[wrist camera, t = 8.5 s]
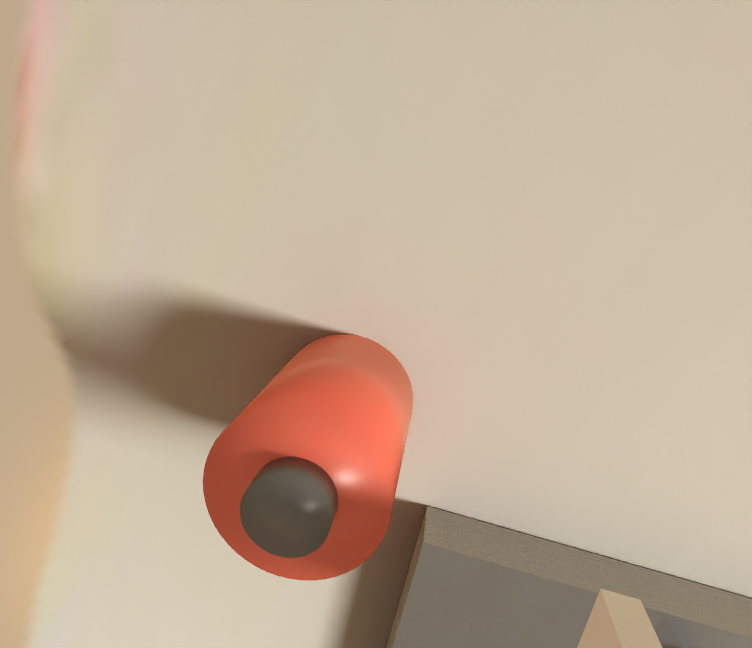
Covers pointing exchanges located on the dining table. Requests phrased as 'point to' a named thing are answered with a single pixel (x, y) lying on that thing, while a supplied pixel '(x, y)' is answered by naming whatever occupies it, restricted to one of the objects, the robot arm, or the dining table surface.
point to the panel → (542, 593)
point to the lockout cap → (313, 461)
